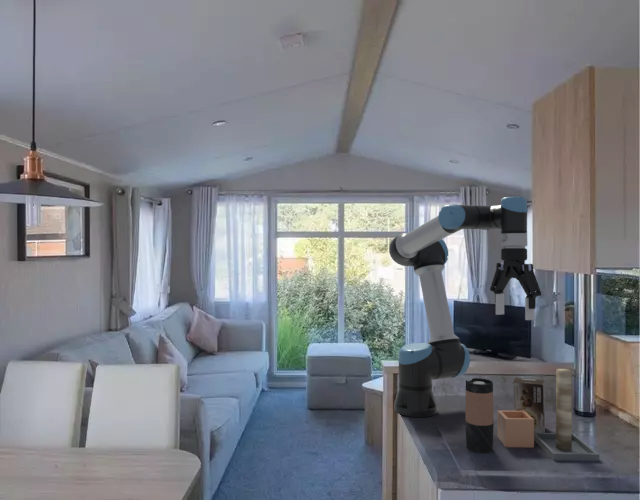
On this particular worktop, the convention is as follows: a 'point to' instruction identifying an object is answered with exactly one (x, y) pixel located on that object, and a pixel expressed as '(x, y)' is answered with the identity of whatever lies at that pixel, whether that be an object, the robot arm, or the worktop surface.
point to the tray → (576, 454)
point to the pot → (515, 428)
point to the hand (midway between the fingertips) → (514, 317)
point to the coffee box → (530, 400)
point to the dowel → (564, 409)
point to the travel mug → (479, 415)
